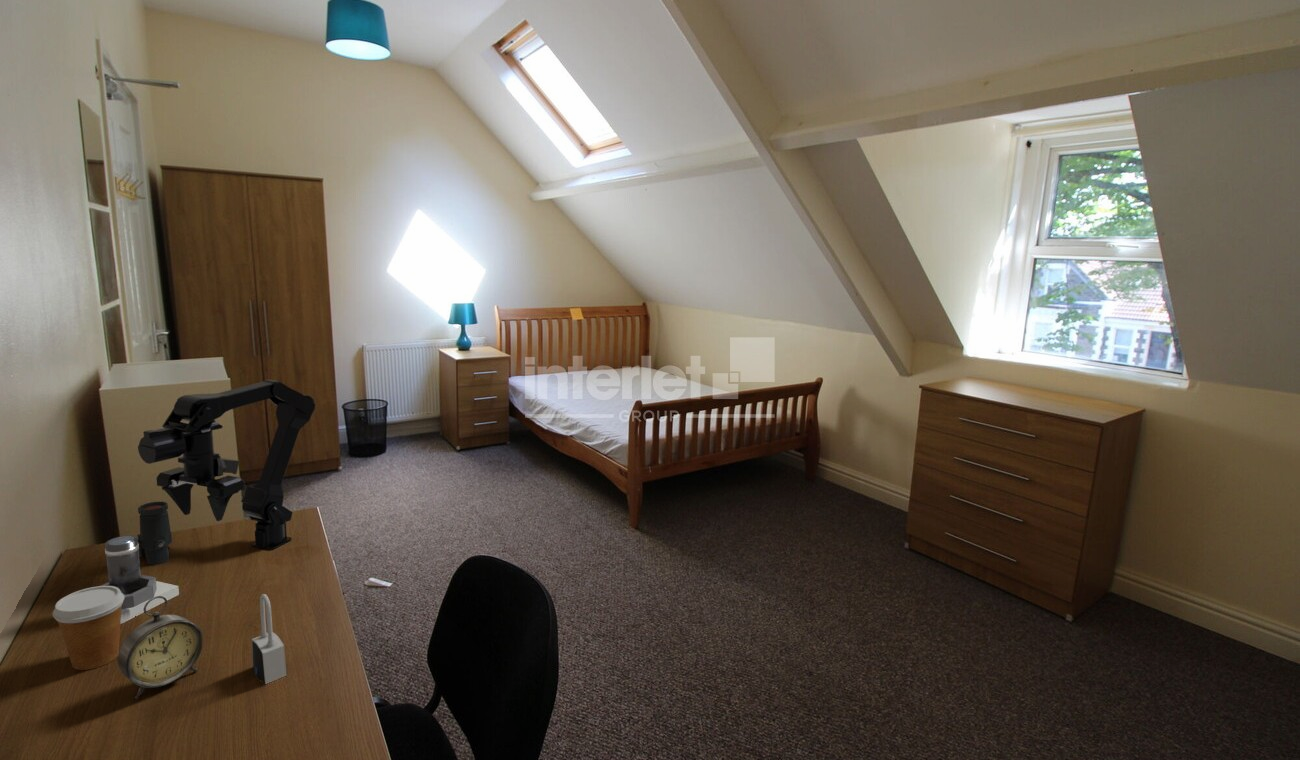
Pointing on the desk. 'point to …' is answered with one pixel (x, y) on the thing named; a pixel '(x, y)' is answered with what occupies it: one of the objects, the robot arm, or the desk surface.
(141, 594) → the octagonal ring on plate
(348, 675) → the desk surface
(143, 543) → the scope
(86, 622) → the disposable coffee cup
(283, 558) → the desk surface
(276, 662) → the padlock
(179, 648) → the alarm clock
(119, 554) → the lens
